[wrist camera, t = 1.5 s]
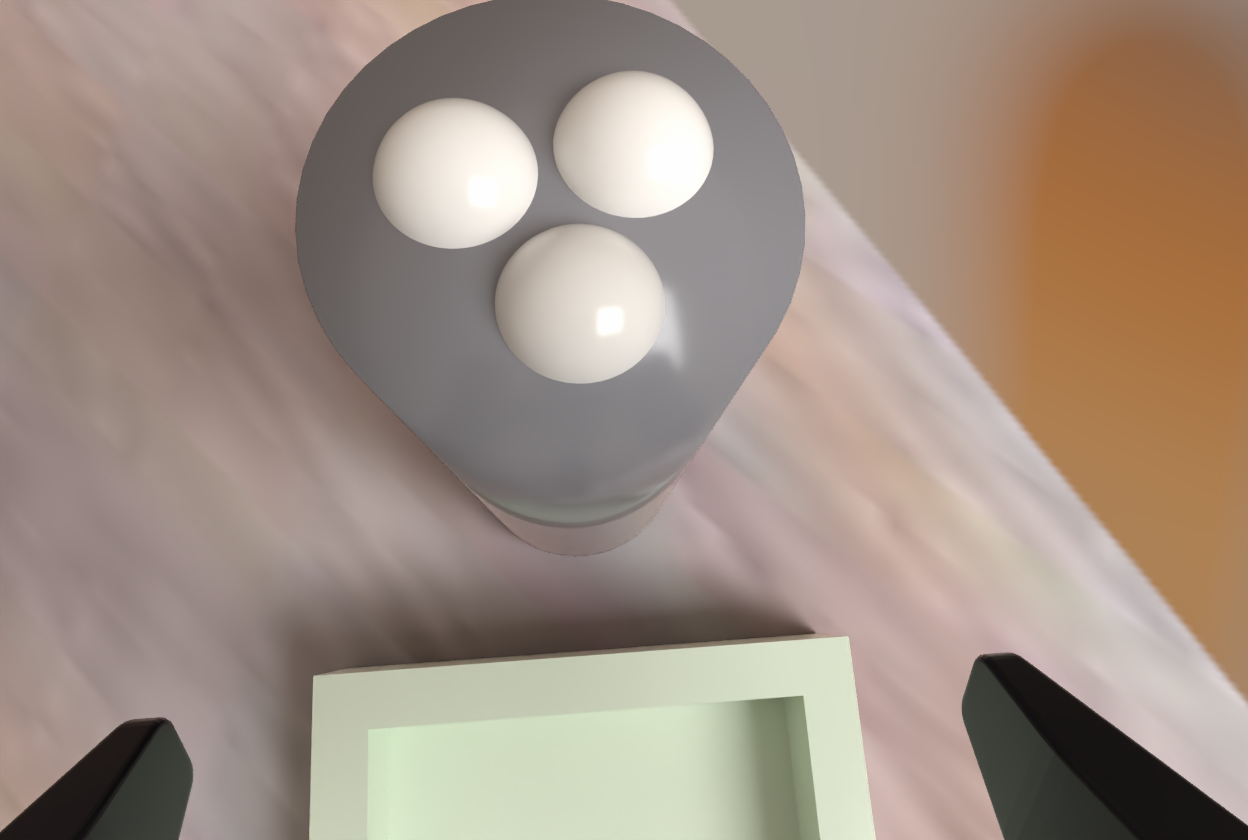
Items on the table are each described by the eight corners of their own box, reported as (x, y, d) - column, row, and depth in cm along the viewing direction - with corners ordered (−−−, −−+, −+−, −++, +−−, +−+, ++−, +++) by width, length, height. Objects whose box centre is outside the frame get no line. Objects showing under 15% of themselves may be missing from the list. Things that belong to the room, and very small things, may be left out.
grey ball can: (711, 479, 21) (932, 231, 7) (554, 597, 20) (479, 563, 7) (597, 332, 22) (608, -130, 8) (442, 439, 21) (168, 117, 7)
